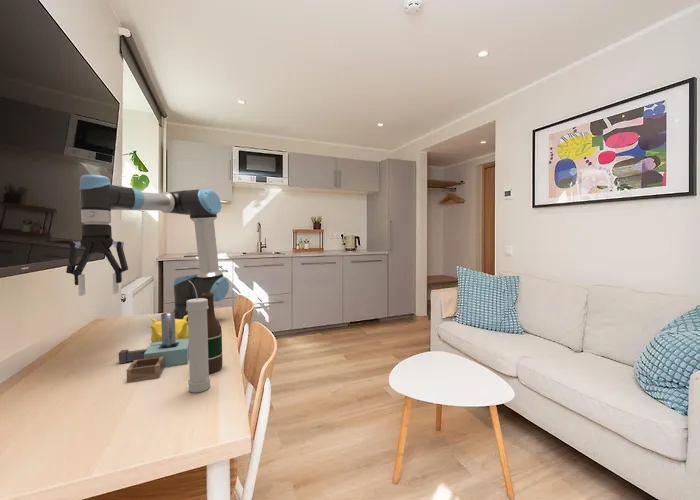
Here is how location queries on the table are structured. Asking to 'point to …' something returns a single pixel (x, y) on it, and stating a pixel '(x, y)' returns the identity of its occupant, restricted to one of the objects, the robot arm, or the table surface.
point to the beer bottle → (213, 336)
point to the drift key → (131, 355)
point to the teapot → (180, 329)
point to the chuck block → (170, 352)
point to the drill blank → (168, 330)
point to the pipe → (198, 344)
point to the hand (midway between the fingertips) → (99, 294)
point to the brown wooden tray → (145, 369)
